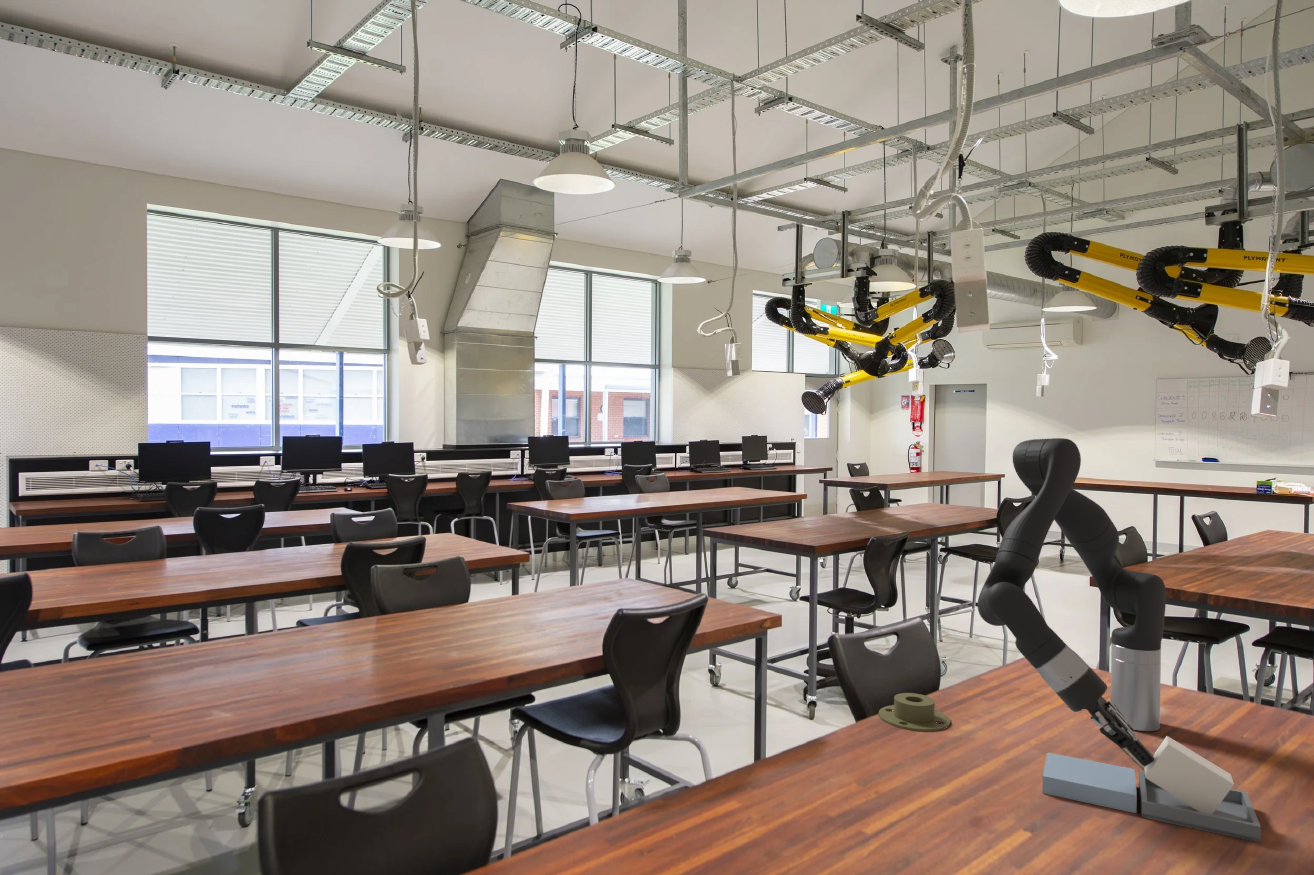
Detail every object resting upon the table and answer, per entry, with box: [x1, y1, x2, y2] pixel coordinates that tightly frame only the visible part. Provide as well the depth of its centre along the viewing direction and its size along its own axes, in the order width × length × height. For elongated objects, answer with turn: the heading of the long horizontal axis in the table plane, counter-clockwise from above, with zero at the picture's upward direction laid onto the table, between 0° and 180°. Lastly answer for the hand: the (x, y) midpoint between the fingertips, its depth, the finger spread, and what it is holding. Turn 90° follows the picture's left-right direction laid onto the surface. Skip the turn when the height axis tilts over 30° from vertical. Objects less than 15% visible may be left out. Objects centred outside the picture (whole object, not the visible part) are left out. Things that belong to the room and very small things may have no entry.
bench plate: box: [1042, 751, 1138, 814], centre depth 138 cm, size 12×14×3 cm
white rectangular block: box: [1144, 735, 1235, 814], centre depth 130 cm, size 4×10×7 cm, turn 59°
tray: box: [1138, 770, 1262, 844], centre depth 130 cm, size 14×16×2 cm
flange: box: [878, 692, 951, 732], centre depth 172 cm, size 5×15×15 cm
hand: (1149, 762), depth 133 cm, fingers closed
